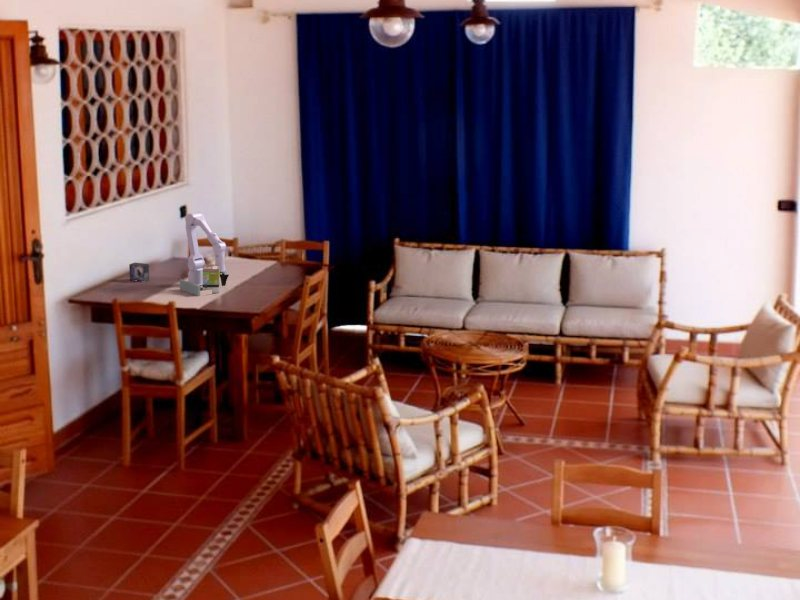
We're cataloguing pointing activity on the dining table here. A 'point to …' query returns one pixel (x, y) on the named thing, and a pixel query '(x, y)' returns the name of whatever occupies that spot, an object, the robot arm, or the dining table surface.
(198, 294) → the display bay
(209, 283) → the tea box
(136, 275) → the small box
